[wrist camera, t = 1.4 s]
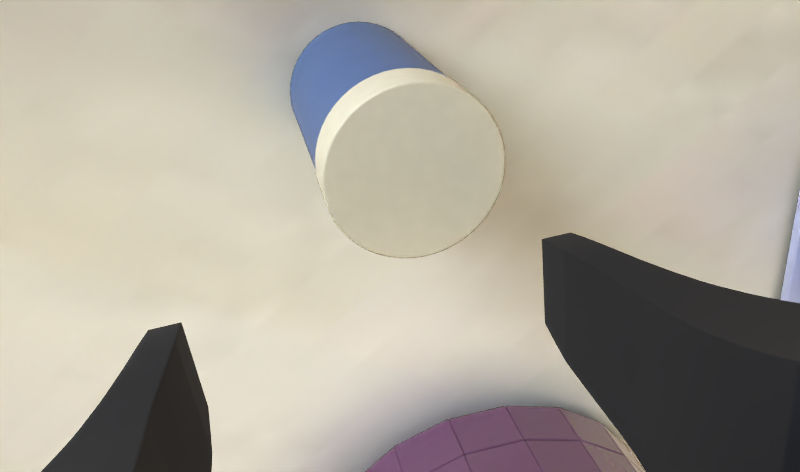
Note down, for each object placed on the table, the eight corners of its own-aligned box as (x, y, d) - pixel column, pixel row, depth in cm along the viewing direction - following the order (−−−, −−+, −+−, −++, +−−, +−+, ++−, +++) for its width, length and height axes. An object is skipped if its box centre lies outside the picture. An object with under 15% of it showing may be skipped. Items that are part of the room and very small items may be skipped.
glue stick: (418, 10, 21) (503, 67, 15) (428, 143, 23) (508, 240, 17) (277, 30, 21) (309, 97, 15) (299, 165, 23) (335, 274, 17)
